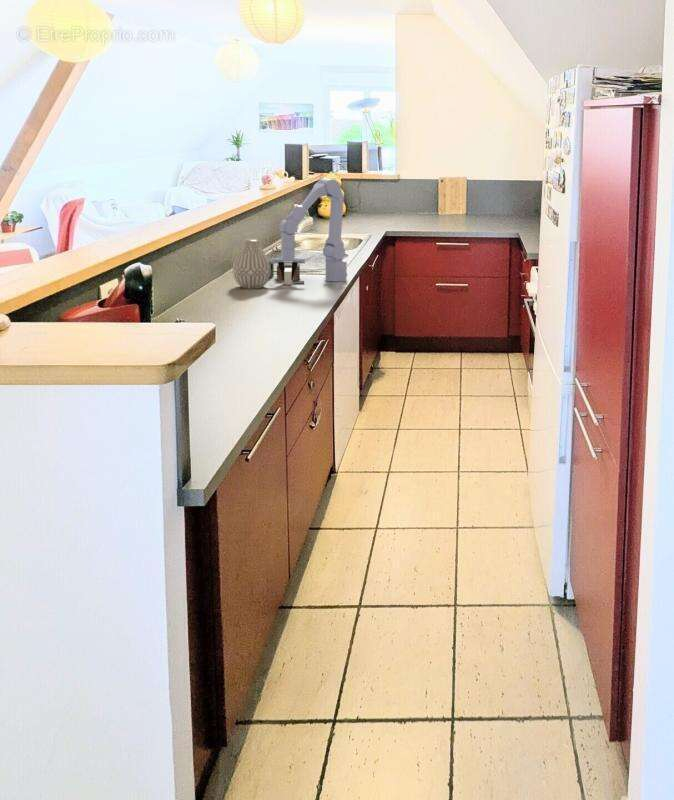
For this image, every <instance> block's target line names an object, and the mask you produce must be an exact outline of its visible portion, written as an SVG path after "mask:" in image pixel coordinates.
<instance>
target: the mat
mask: <svg viewBox="0 0 674 800" xmlns="http://www.w3.org/2000/svg"><path fill="white" fill-rule="evenodd" d="M292 285H305V280H292Z"/></svg>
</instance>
